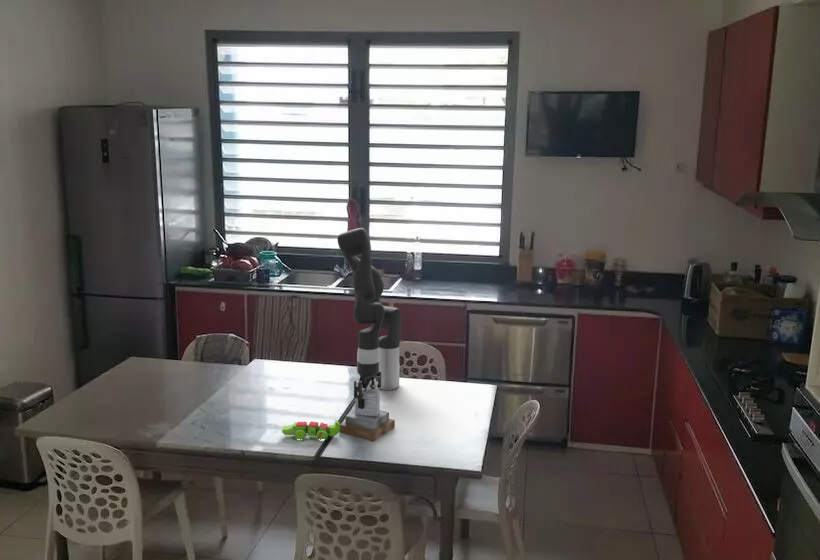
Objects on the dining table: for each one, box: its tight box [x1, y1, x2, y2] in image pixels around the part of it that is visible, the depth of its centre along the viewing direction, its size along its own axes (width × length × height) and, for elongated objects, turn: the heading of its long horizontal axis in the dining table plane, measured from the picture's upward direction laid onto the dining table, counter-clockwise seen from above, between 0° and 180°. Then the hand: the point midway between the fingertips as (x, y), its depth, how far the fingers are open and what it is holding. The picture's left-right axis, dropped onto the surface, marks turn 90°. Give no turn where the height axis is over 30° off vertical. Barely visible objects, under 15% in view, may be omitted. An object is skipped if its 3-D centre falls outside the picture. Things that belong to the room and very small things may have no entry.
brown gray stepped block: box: [338, 409, 396, 442], centre depth 268 cm, size 14×14×6 cm
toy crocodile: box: [281, 419, 341, 441], centre depth 261 cm, size 20×7×6 cm, turn 87°
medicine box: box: [354, 388, 381, 417], centre depth 267 cm, size 8×4×9 cm, turn 81°
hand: (367, 404), depth 267 cm, fingers open, 7 cm apart
